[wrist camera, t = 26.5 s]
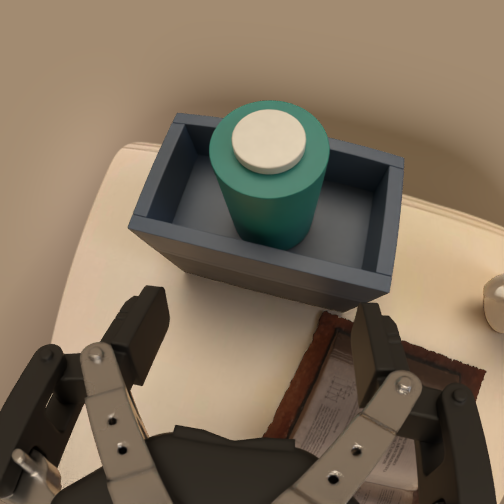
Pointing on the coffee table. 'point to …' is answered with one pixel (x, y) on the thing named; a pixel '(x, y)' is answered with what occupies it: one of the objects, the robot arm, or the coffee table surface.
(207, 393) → the coffee table surface
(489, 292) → the mug
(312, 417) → the book
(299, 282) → the open storage box
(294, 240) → the plastic bottle
